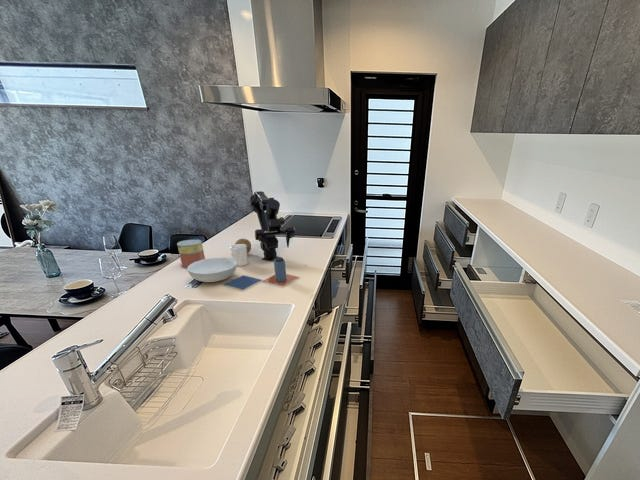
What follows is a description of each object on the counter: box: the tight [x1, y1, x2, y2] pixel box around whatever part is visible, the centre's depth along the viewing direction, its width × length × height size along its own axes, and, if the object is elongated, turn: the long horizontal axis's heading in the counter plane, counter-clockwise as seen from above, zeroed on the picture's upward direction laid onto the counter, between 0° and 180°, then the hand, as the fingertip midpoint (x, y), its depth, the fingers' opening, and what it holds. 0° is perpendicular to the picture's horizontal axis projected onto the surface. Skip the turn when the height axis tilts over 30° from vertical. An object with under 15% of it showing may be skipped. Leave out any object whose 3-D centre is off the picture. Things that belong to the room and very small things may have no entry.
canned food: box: [176, 238, 206, 269], centre depth 159 cm, size 11×11×12 cm
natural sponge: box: [234, 238, 252, 255], centre depth 174 cm, size 9×9×10 cm
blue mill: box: [273, 256, 287, 282], centre depth 142 cm, size 5×5×11 cm
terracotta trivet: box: [263, 273, 299, 287], centre depth 146 cm, size 12×12×1 cm
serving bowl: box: [186, 257, 237, 283], centre depth 144 cm, size 21×21×7 cm
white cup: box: [229, 243, 248, 267], centre depth 162 cm, size 8×8×10 cm
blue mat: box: [222, 275, 262, 290], centre depth 141 cm, size 12×12×1 cm
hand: (278, 248), depth 146 cm, fingers open, 9 cm apart
